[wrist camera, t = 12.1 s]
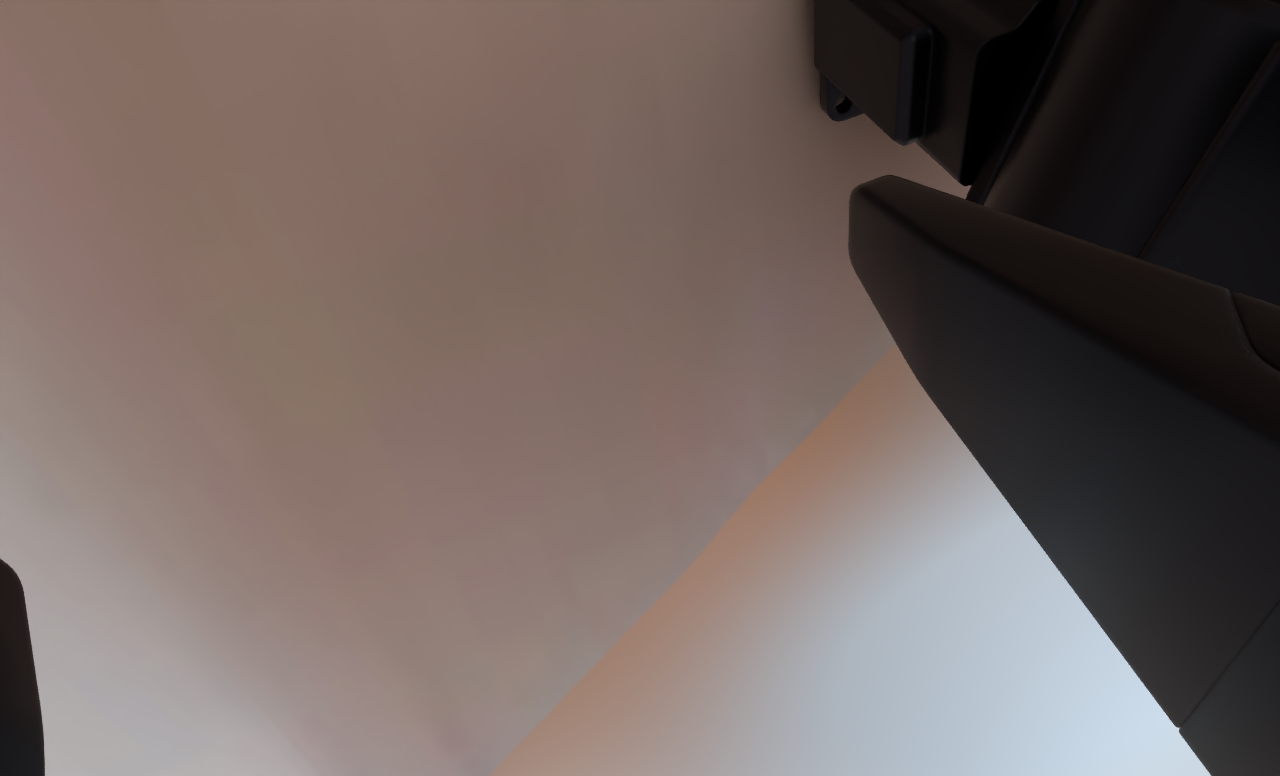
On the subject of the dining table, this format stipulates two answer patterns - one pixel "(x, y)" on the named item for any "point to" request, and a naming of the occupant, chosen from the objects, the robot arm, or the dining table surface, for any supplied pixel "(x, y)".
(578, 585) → the dining table surface
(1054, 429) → the robot arm
